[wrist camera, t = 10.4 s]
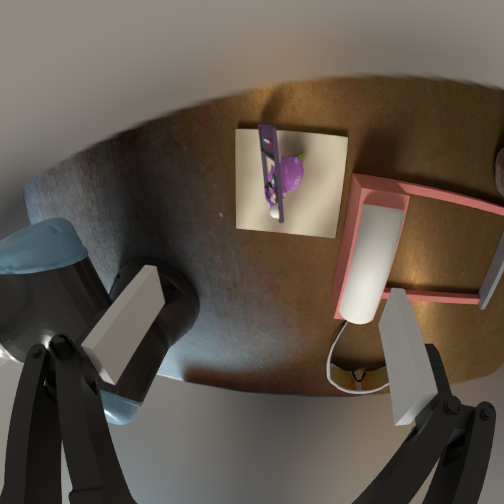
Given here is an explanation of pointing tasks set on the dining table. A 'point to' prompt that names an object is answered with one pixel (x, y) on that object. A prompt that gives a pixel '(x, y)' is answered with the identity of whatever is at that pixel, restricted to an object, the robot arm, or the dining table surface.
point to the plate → (304, 196)
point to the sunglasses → (348, 380)
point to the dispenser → (391, 247)
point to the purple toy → (278, 170)
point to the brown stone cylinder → (500, 171)
